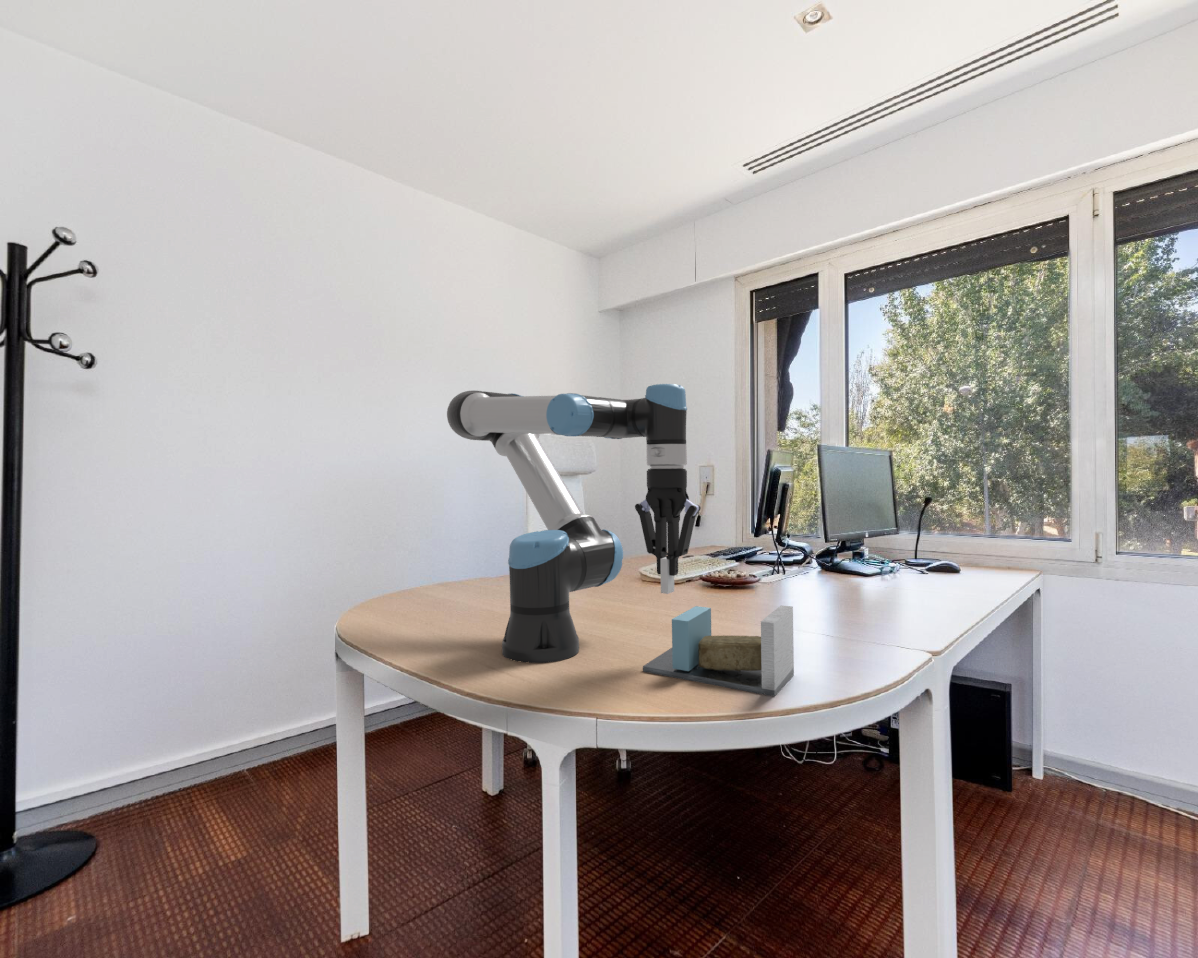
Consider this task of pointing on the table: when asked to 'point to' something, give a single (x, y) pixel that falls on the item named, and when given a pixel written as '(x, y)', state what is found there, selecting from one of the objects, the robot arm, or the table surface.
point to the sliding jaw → (689, 636)
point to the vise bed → (766, 681)
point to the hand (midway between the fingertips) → (667, 591)
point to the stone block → (730, 653)
